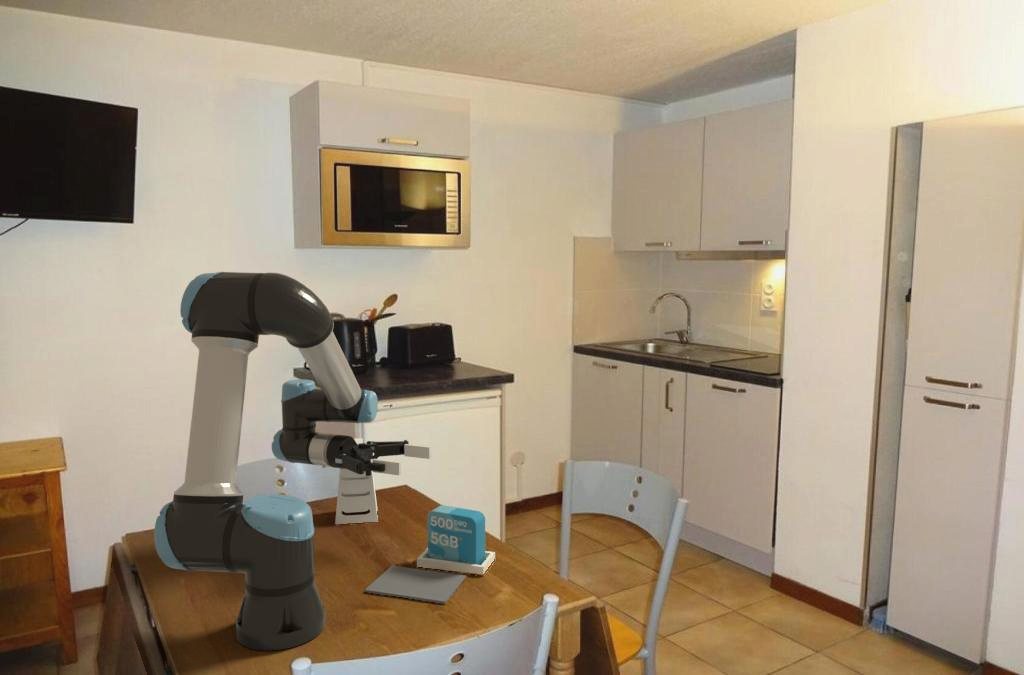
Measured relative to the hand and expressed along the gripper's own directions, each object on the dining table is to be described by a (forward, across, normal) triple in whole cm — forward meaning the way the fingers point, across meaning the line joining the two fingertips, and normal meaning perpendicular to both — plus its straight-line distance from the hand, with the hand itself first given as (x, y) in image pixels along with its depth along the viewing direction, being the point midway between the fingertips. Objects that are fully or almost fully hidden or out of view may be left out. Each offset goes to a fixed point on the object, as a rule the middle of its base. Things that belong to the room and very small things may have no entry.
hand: (415, 460), depth 156 cm
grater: (-27, -17, -22) cm, 39 cm away
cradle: (+10, 0, -22) cm, 24 cm away
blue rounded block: (+10, 0, -22) cm, 24 cm away
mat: (+7, +12, -22) cm, 26 cm away
